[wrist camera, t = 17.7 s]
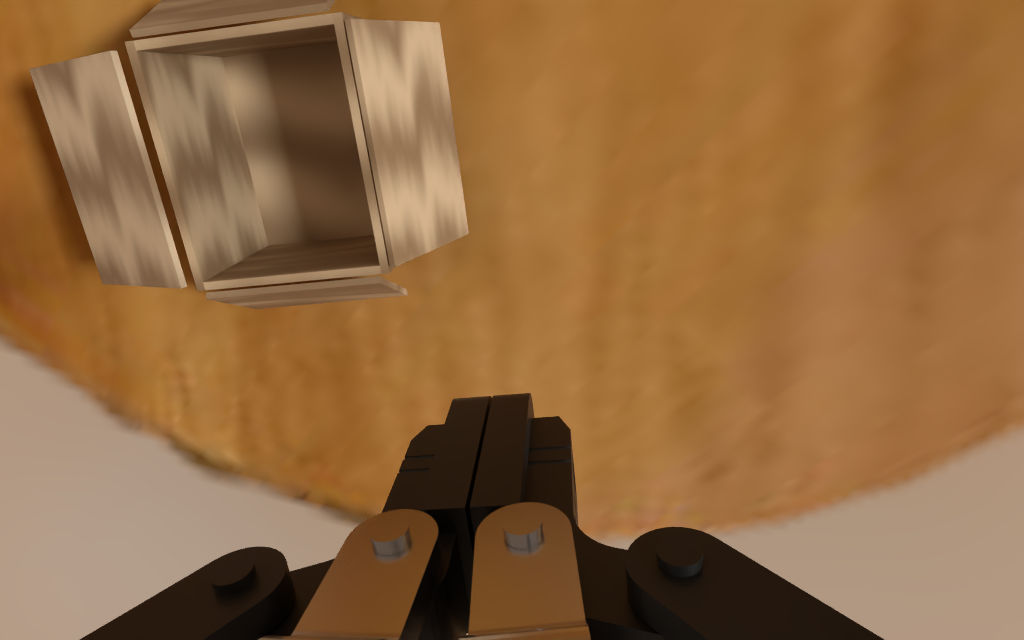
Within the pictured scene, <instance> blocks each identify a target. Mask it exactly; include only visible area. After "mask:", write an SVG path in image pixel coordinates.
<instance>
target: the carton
mask: <svg viewBox="0 0 1024 640" xmlns="http://www.w3.org/2000/svg"><path fill="white" fill-rule="evenodd" d="M334 1H335V0H162V1H161V2H159V3H158V4H157V5H156V6H155V7H154V8H153V9H152V10H151V11H149V12H148V13H147V14H146V15H145V16H144V17H143V18H142V19H141V20H140V21H138V22H137V23H136V24H135V25H134V26H133V27H132V28H131V29H130V30H129V31H130V33H131V35H132V37H133V38H135V37H143V36H150V35H157V34H164V33H172V32H179V31H186V30H193V29H201V28H208V27H215V26H222V25H230V24H237V23H244V22H251V21H259V20H266V19H273V18H280V17H288V16H295V15H302V14H309V13H317V12H324V11H329V10H330V8H331V6H332V5H333V3H334ZM125 45H126V49H127V52H128V55H129V59H130V62H131V66H132V69H133V73H134V76H135V79H136V83H137V86H138V90H139V93H140V96H141V100H142V103H143V107H144V110H145V114H146V117H147V120H148V124H149V127H150V131H151V134H152V137H153V141H154V144H155V148H156V151H157V155H158V158H159V161H160V165H161V168H162V172H163V175H164V178H165V182H166V185H167V189H168V192H169V196H170V199H171V202H172V206H173V209H174V213H175V216H176V219H177V223H178V226H179V230H180V233H181V237H182V240H183V243H184V247H185V250H186V254H187V257H188V260H189V264H190V267H191V271H192V274H193V278H194V281H195V284H196V288H197V291H204V290H214V289H225V288H236V287H246V286H257V285H267V284H278V283H289V282H299V281H310V280H321V279H331V278H342V277H352V276H363V275H374V274H384V273H390V272H391V271H392V270H393V269H394V268H395V267H396V266H399V265H401V264H403V263H405V262H407V261H410V260H412V259H414V258H416V257H419V256H421V255H423V254H425V253H427V252H430V251H432V250H434V249H436V248H438V247H441V246H443V245H445V244H447V243H450V242H452V241H454V240H456V239H458V238H461V237H463V236H465V235H467V234H469V232H468V225H467V217H466V210H465V203H464V196H463V189H462V181H461V174H460V167H459V160H458V153H457V146H456V138H455V131H454V124H453V117H452V110H451V102H450V95H449V88H448V81H447V74H446V66H445V59H444V52H443V45H442V38H441V30H440V23H439V22H415V21H391V20H367V19H361V18H358V17H355V16H352V15H349V14H346V13H343V12H338V13H331V14H324V15H316V16H309V17H302V18H295V19H287V20H280V21H273V22H266V23H258V24H251V25H244V26H236V27H229V28H222V29H215V30H207V31H200V32H193V33H185V34H178V35H171V36H164V37H156V38H149V39H142V40H134V41H127V42H125ZM396 296H407V289H405V288H403V287H401V286H399V285H397V284H394V283H392V282H390V281H388V280H386V279H384V278H382V277H380V276H379V277H368V278H358V279H347V280H336V281H326V282H315V283H304V284H294V285H283V286H272V287H262V288H251V289H240V290H230V291H219V292H208V293H206V297H207V299H208V300H213V301H218V302H223V303H228V304H233V305H238V306H243V307H248V308H254V309H263V308H274V307H285V306H296V305H307V304H318V303H329V302H340V301H351V300H362V299H373V298H385V297H396Z"/></svg>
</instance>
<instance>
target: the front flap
mask: <svg viewBox="0 0 1024 640" xmlns="http://www.w3.org/2000/svg"><path fill="white" fill-rule="evenodd" d="M29 70H30V73H31V76H32V79H33V82H34V85H35V88H36V91H37V94H38V97H39V99H40V102H41V105H42V108H43V111H44V114H45V117H46V120H47V123H48V126H49V129H50V131H51V134H52V137H53V140H54V143H55V146H56V149H57V152H58V155H59V158H60V161H61V164H62V166H63V169H64V172H65V175H66V178H67V181H68V184H69V187H70V190H71V193H72V196H73V198H74V201H75V204H76V207H77V210H78V213H79V216H80V219H81V222H82V225H83V228H84V231H85V233H86V236H87V239H88V242H89V245H90V248H91V251H92V254H93V257H94V260H95V263H96V265H97V268H98V271H99V274H100V277H101V280H102V283H103V284H113V285H130V286H147V287H164V288H184V287H187V284H186V281H185V278H184V274H183V271H182V267H181V264H180V261H179V257H178V254H177V251H176V247H175V244H174V241H173V237H172V234H171V231H170V227H169V224H168V220H167V217H166V214H165V210H164V207H163V204H162V200H161V197H160V194H159V190H158V187H157V183H156V180H155V177H154V173H153V170H152V167H151V163H150V160H149V157H148V153H147V150H146V146H145V143H144V140H143V136H142V133H141V130H140V126H139V123H138V120H137V116H136V113H135V110H134V106H133V103H132V99H131V96H130V93H129V89H128V86H127V83H126V79H125V76H124V73H123V69H122V66H121V62H120V59H119V56H118V52H117V51H107V52H102V53H98V54H93V55H89V56H85V57H80V58H76V59H71V60H67V61H63V62H58V63H54V64H49V65H45V66H41V67H36V68H32V69H29Z"/></svg>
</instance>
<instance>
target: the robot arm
mask: <svg viewBox="0 0 1024 640" xmlns="http://www.w3.org/2000/svg"><path fill="white" fill-rule="evenodd" d="M466 633H468V635H466ZM80 640H884V639H882V638H881V637H879V636H877V635H876V634H874V633H873V632H871V631H869V630H868V629H866V628H864V627H863V626H861V625H859V624H858V623H856V622H854V621H853V620H851V619H849V618H848V617H846V616H844V615H843V614H841V613H839V612H838V611H836V610H834V609H833V608H831V607H829V606H828V605H826V604H824V603H823V602H821V601H820V600H818V599H816V598H814V597H813V596H811V595H810V594H808V593H806V592H805V591H803V590H801V589H800V588H798V587H796V586H795V585H793V584H791V583H790V582H788V581H786V580H785V579H783V578H781V577H780V576H778V575H777V574H775V573H773V572H772V571H770V570H768V569H767V568H765V567H763V566H762V565H760V564H758V563H757V562H755V561H753V560H752V559H750V558H748V557H746V556H745V555H743V554H742V553H740V552H738V551H737V550H735V549H733V548H732V547H730V546H729V545H727V544H725V543H723V542H722V541H720V540H719V539H717V538H715V537H713V536H711V535H709V534H707V533H705V532H702V531H699V530H695V529H691V528H684V527H666V528H660V529H655V530H653V531H650V532H647V533H645V534H643V535H641V536H640V537H639V538H637V539H636V540H635V541H634V542H633V543H632V544H631V545H630V547H629V549H628V550H624V549H619V548H614V547H610V546H607V545H604V544H601V543H598V542H597V541H595V540H593V539H591V538H590V537H588V536H587V535H585V534H584V533H583V532H582V531H581V530H580V529H579V527H578V514H577V495H576V484H575V474H574V463H573V453H572V442H571V432H570V429H569V427H568V426H567V425H566V424H565V423H564V422H563V421H562V419H561V418H560V417H559V416H556V417H542V418H534V412H533V403H532V397H531V394H530V393H525V394H511V395H497V396H493V397H491V396H485V397H471V398H458V399H453V401H452V403H451V406H450V409H449V412H448V415H447V418H446V421H445V424H442V425H428V426H427V427H425V428H424V429H423V430H422V431H421V432H420V433H419V434H418V435H417V436H416V437H414V438H413V439H412V440H411V442H410V445H409V447H408V450H407V452H406V455H405V460H403V462H402V464H401V467H400V469H399V473H398V474H397V477H396V479H395V482H394V484H393V486H392V489H391V491H390V494H389V496H388V499H387V501H386V504H385V506H384V508H383V511H382V513H380V514H378V515H375V516H373V517H371V518H369V519H367V520H365V521H364V522H362V523H361V524H359V525H358V526H357V527H356V528H355V529H354V530H353V531H352V532H351V533H350V534H349V536H348V537H347V539H346V540H345V542H344V544H343V546H342V548H341V549H340V551H339V553H338V554H337V556H336V558H335V559H332V560H329V561H326V562H323V563H319V564H315V565H312V566H308V567H305V568H301V569H298V570H294V571H290V572H289V569H288V565H287V561H286V559H285V557H284V555H283V554H282V553H281V552H279V551H278V550H276V549H273V548H270V547H250V548H245V549H240V550H237V551H234V552H231V553H229V554H226V555H224V556H222V557H220V558H218V559H216V560H214V561H212V562H211V563H209V564H207V565H205V566H204V567H202V568H200V569H199V570H197V571H195V572H194V573H192V574H190V575H189V576H187V577H185V578H183V579H182V580H180V581H178V582H177V583H175V584H173V585H172V586H170V587H168V588H167V589H165V590H163V591H161V592H160V593H158V594H156V595H155V596H153V597H151V598H150V599H148V600H146V601H144V602H143V603H141V604H139V605H138V606H136V607H134V608H133V609H131V610H129V611H128V612H126V613H124V614H123V615H121V616H119V617H118V618H116V619H114V620H113V621H111V622H109V623H107V624H105V625H104V626H102V627H100V628H99V629H97V630H96V631H94V632H92V633H90V634H89V635H87V636H85V637H83V638H82V639H80Z"/></svg>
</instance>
